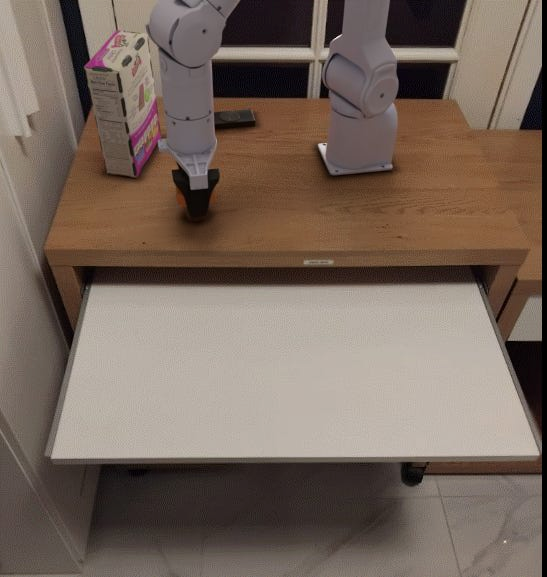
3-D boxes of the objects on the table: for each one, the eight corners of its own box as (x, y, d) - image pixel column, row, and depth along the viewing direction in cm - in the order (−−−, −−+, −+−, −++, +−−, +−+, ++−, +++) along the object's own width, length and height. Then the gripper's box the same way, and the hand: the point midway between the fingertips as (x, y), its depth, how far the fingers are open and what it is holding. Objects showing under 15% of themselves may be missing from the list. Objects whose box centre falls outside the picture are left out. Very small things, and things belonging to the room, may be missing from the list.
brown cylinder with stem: (205, 207, 86) (203, 173, 82) (208, 220, 84) (206, 185, 80) (185, 209, 86) (182, 175, 82) (187, 222, 84) (184, 188, 80)
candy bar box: (131, 133, 99) (115, 28, 87) (162, 138, 98) (150, 32, 86) (103, 174, 91) (81, 65, 79) (136, 179, 90) (120, 69, 79)
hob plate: (251, 114, 104) (251, 108, 103) (255, 125, 101) (255, 119, 100) (204, 118, 102) (204, 112, 102) (207, 129, 100) (207, 123, 99)
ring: (211, 184, 85) (210, 174, 84) (216, 206, 82) (216, 196, 80) (175, 188, 84) (174, 178, 83) (178, 210, 81) (177, 200, 80)
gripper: (149, 80, 78) (160, 173, 88) (158, 144, 68) (170, 241, 78) (207, 76, 79) (211, 168, 89) (224, 139, 69) (227, 234, 79)
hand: (195, 202), depth 83 cm, fingers closed on ring, 5 cm apart
